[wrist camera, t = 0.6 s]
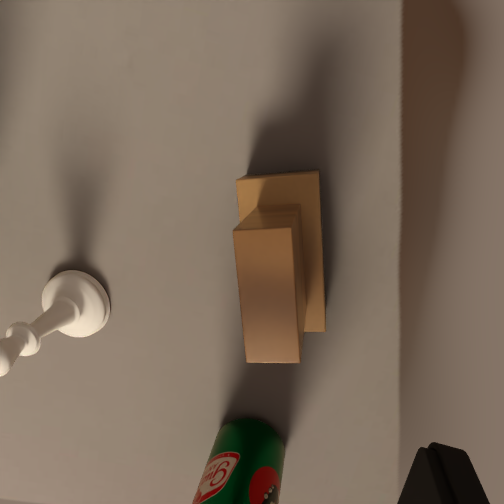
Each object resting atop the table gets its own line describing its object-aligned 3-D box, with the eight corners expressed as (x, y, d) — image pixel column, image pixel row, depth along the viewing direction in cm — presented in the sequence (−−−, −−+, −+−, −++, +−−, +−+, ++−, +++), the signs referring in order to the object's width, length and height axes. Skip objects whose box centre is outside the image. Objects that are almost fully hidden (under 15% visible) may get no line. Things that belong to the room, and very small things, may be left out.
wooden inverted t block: (245, 174, 25) (203, 194, 16) (319, 168, 24) (315, 186, 16) (258, 312, 27) (227, 392, 19) (326, 311, 26) (326, 395, 18)
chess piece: (72, 255, 28) (-56, 315, 19) (123, 305, 29) (24, 388, 19) (34, 300, 30) (-101, 375, 20) (84, 346, 30) (-27, 442, 21)
